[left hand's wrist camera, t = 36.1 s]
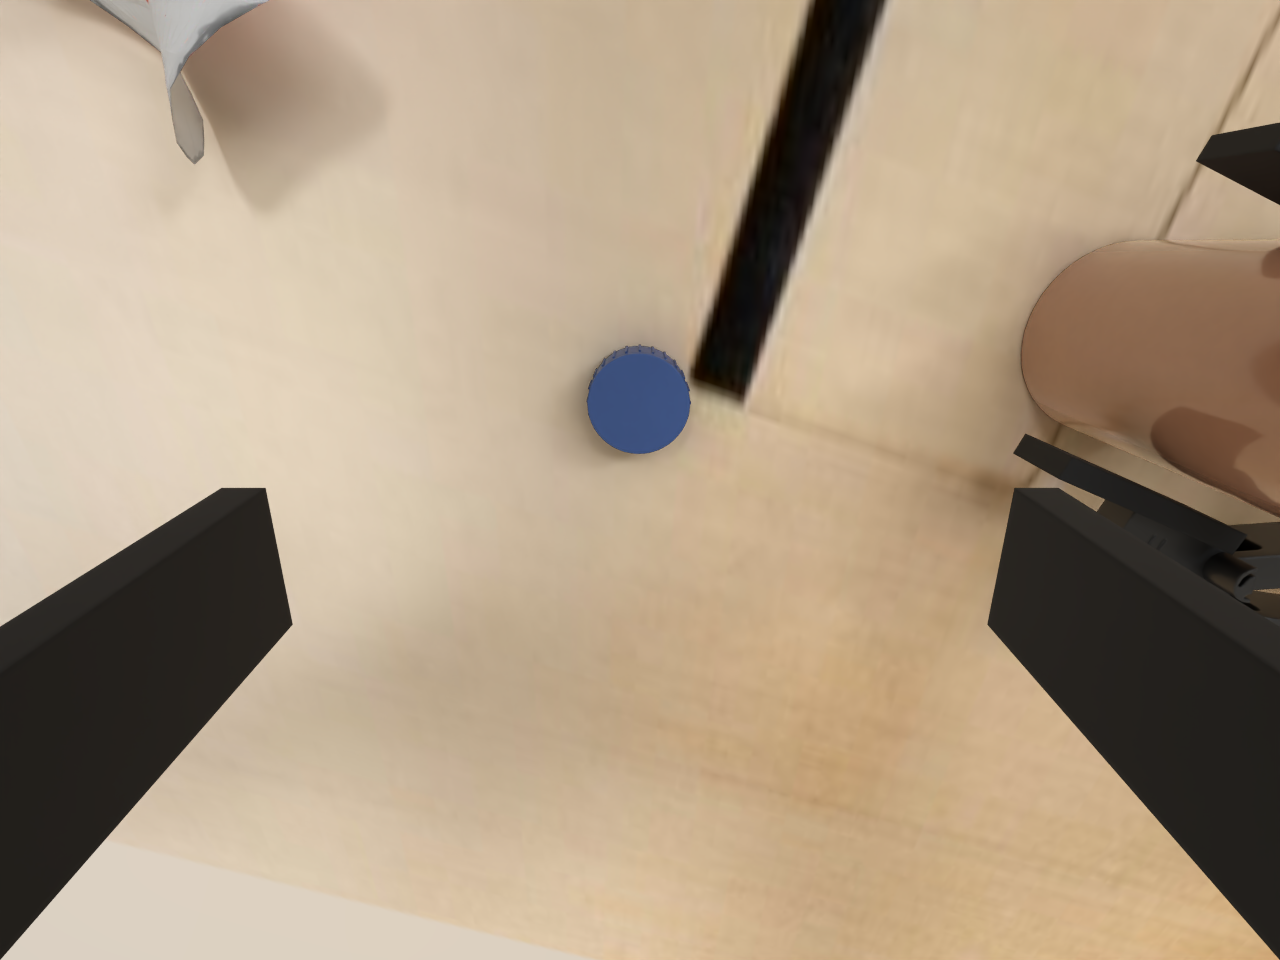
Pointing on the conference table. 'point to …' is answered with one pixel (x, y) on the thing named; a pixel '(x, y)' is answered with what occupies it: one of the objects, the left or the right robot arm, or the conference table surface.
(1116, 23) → the conference table surface
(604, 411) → the cap
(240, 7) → the fish
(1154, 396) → the bottle
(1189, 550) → the right robot arm
